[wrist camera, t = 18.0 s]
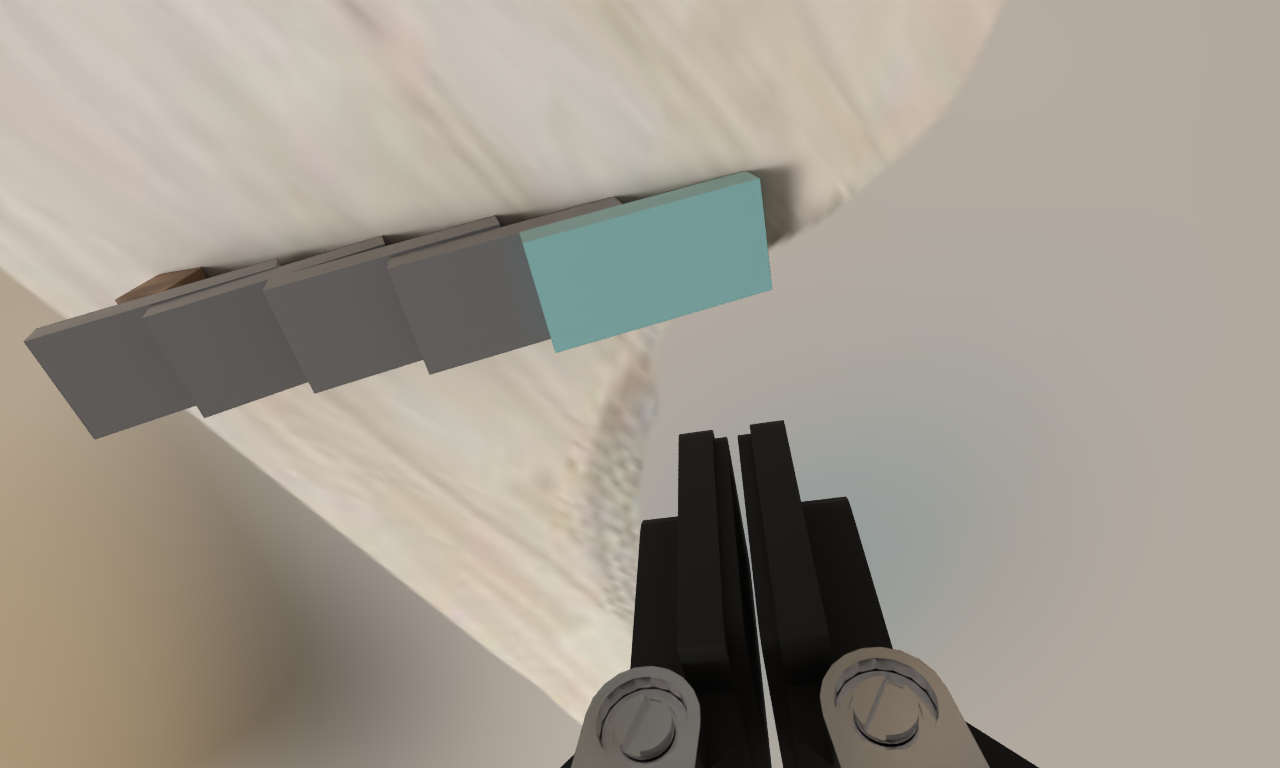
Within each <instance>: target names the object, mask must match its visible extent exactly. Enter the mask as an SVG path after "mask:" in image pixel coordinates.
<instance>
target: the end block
mask: <svg viewBox="0 0 1280 768" xmlns="http://www.w3.org/2000/svg"><path fill="white" fill-rule="evenodd" d="M204 279H207V276H206V274H205V272H204V270H203V268H202V267H200V268H194V269H188V270H182V271H176V272H171V273H165V274H159V275H157V276H155V277H153V278H152V279H150V280H148V281H147V282H145V283H143V284H141V285H140V286H138V287H136V288H135V289H133V290H131V291H130V292H128V293H126V294H124V295H123V296H121V297H119V298H118V299H116V300H115V301H116V302H117V304H122V303H125V302H129V301H132V300H135V299H139V298H142V297H146V296H149V295H153V294H156V293H159V292H163V291H166V290H170V289H173V288H176V287H180V286H183V285H187V284H190V283H193V282H197V281H200V280H204Z"/></svg>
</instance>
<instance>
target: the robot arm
mask: <svg viewBox="0 0 1280 768" xmlns="http://www.w3.org/2000/svg"><path fill="white" fill-rule="evenodd" d="M750 430H751V434H745V435H738V444H739V453H740V462H741V472H742V481H743V489H744V498H745V507H746V517H747V526H748V535H749V543H750V553H751V562H752V571H753V580H754V589H755V598H756V606H757V616H758V624H759V632H760V639H761V646H762V652H763V658H764V664H765V669H766V675H767V680H768V686H769V691H770V696H771V701H772V707H773V713H774V718H775V724H776V730H777V735H778V741H779V746H780V752H781V758H782V763H783V768H1038V767H1037V766H1035V765H1034V764H1032V763H1030V762H1029V761H1027V760H1026V759H1024V758H1022V757H1021V756H1019V755H1018V754H1016V753H1015V752H1013V751H1011V750H1010V749H1008V748H1007V747H1005V746H1004V745H1002V744H1000V743H999V742H997V741H996V740H994V739H992V738H991V737H989V736H988V735H986V734H985V733H983V732H981V731H980V730H978V729H977V728H975V727H973V726H972V725H970V724H969V723H967V722H965V720H964V719H963V717H962V715H961V713H960V711H959V710H958V707H957V705H956V704H955V702H954V700H953V698H952V696H951V694H950V692H949V691H948V689H947V687H946V686H945V684H944V683H943V682H942V680H941V679H940V678H939V676H938V675H937V673H936V672H935V671H934V670H932V669H931V668H930V667H928V666H927V665H926V664H925V663H924V662H922V661H921V660H920V659H918V658H916V657H914V656H911V655H909V654H907V653H905V652H903V651H900V650H895V649H893V648H892V645H891V641H890V638H889V635H888V631H887V628H886V624H885V621H884V618H883V614H882V611H881V607H880V604H879V601H878V597H877V594H876V591H875V587H874V584H873V580H872V577H871V574H870V571H869V567H868V564H867V560H866V557H865V553H864V550H863V547H862V544H861V540H860V537H859V533H858V530H857V527H856V523H855V520H854V516H853V513H852V510H851V507H850V504H849V501H848V499H847V497H839V498H830V499H823V500H813V501H805V502H801V500H800V495H799V490H798V486H797V481H796V476H795V471H794V467H793V462H792V457H791V452H790V447H789V443H788V438H787V434H786V428H785V424H784V420H782V421H774V422H766V423H759V424H752V425H750ZM678 468H679V469H678V471H679V473H678V475H679V476H678V516H677V517H669V518H660V519H652V520H643V522H642V524H641V531H640V543H639V557H638V571H637V584H636V598H635V612H634V626H633V640H632V654H631V667H630V670H628V671H625V672H622V673H620V674H618V675H617V676H615V677H614V678H612V679H611V680H610V681H608V682H607V683H605V684H604V685H603V687H602V688H601V689H600V690H599V691H598V693H597V694H596V695H595V696H594V697H593V699H592V701H591V704H590V706H589V708H588V710H587V713H586V715H585V719H584V722H583V726H582V730H581V734H580V737H579V740H578V744H577V748H576V751H575V754H574V755H573V756H572V757H571V758H570V759H569V760H568V761H567V762H566V763H565V764H564V765H563V766H562V767H561V768H772V767H771V757H770V748H769V738H768V729H767V721H766V710H765V701H764V692H763V683H762V674H761V664H760V654H759V645H758V636H757V627H756V617H755V608H754V599H753V589H752V580H751V572H750V564H749V557H748V551H747V546H746V540H745V534H744V529H743V523H742V518H741V512H740V506H739V500H738V495H737V490H736V484H735V478H734V472H733V467H732V461H731V455H730V450H729V445H728V439H727V437H723V438H715V437H714V433H713V430H708V431H700V432H693V433H686V434H680V435H679V467H678Z"/></svg>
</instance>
